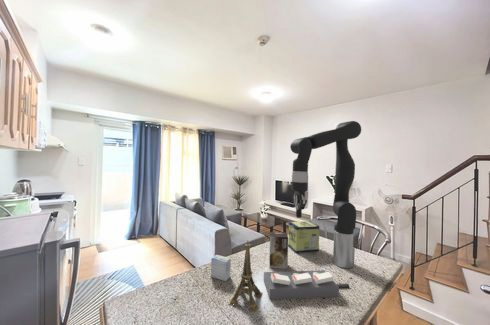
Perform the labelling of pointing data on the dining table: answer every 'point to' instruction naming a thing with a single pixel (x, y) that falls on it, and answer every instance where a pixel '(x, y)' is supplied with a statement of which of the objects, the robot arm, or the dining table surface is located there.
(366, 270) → the dining table surface
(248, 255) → the eiffel tower
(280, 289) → the switch panel
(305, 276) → the block
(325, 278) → the rocker
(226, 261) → the medicine box
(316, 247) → the protein box
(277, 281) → the block
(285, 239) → the coffee box
